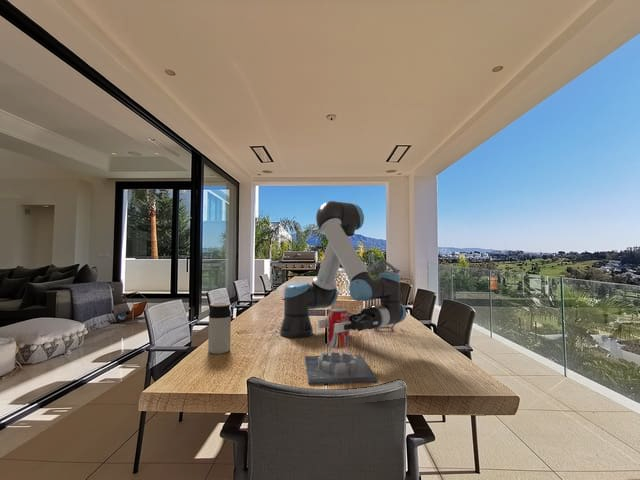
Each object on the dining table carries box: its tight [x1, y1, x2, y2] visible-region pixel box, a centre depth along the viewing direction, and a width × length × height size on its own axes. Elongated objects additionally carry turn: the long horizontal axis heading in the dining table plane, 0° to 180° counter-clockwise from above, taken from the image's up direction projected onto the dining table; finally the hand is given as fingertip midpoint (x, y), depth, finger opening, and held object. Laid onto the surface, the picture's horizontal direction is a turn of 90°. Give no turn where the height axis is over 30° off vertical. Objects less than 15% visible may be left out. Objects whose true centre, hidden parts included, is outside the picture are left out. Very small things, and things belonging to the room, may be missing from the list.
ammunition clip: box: [364, 299, 381, 308], centre depth 182 cm, size 11×2×12 cm, turn 92°
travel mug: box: [207, 301, 232, 355], centre depth 121 cm, size 8×8×18 cm
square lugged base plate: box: [304, 351, 377, 385], centre depth 102 cm, size 20×20×4 cm
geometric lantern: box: [365, 258, 401, 332], centre depth 158 cm, size 16×16×35 cm
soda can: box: [326, 307, 350, 350], centre depth 102 cm, size 7×7×12 cm
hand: (326, 326), depth 99 cm, fingers closed on soda can, 7 cm apart
